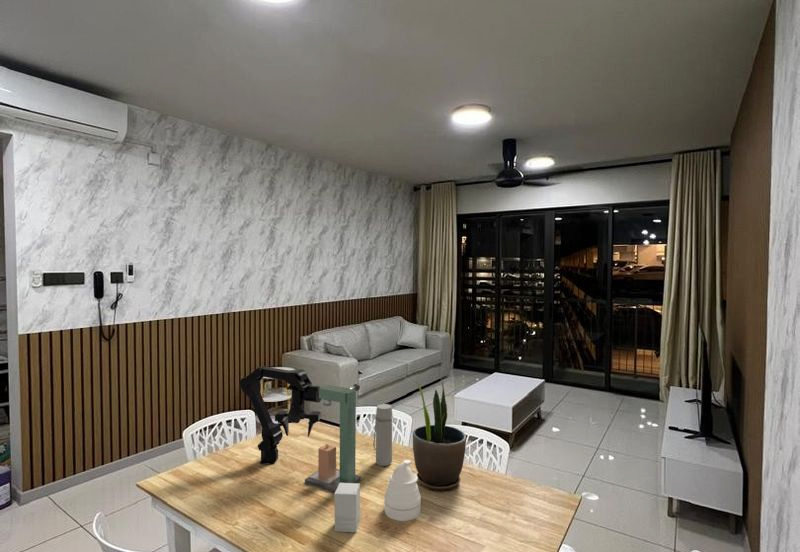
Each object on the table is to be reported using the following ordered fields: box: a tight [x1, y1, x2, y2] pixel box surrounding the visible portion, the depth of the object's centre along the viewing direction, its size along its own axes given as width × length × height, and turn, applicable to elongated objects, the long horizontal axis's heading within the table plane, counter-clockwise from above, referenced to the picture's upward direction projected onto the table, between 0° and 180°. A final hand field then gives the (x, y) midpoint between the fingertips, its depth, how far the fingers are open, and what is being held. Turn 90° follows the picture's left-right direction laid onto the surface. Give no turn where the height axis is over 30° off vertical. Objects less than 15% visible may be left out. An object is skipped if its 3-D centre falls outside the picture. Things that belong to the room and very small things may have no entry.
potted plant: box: [412, 380, 467, 493], centre depth 170 cm, size 21×22×40 cm
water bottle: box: [373, 403, 394, 467], centre depth 186 cm, size 9×8×25 cm
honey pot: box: [383, 459, 422, 522], centre depth 150 cm, size 13×13×18 cm
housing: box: [317, 442, 337, 479], centre depth 171 cm, size 5×5×12 cm
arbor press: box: [304, 383, 362, 493], centre depth 172 cm, size 18×20×38 cm
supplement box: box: [333, 483, 361, 533], centre depth 140 cm, size 7×7×13 cm
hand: (298, 435), depth 182 cm, fingers open, 9 cm apart
